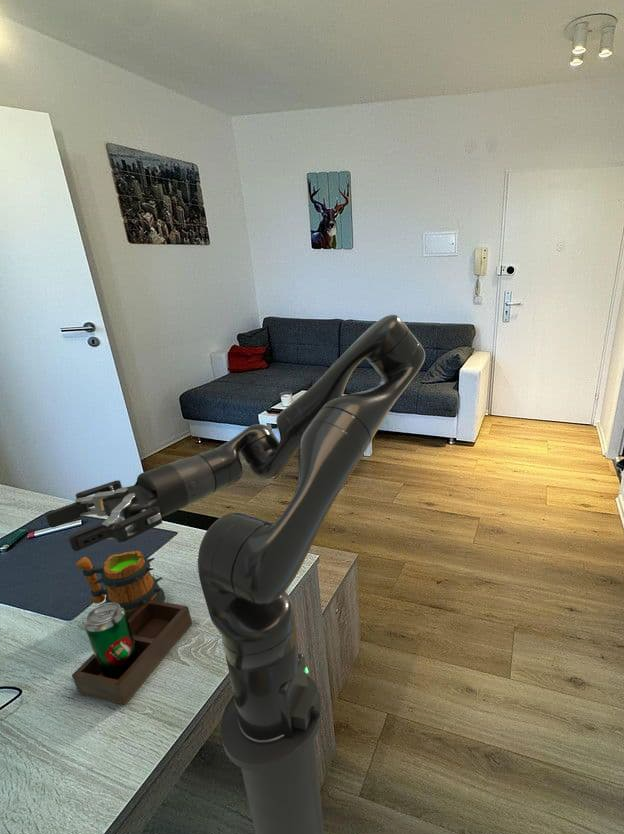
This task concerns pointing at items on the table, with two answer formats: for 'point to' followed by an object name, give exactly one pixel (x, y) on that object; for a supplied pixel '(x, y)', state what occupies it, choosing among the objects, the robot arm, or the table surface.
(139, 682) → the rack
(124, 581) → the mug
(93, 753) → the table surface
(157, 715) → the table surface
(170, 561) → the table surface
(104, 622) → the soda can
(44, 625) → the table surface
